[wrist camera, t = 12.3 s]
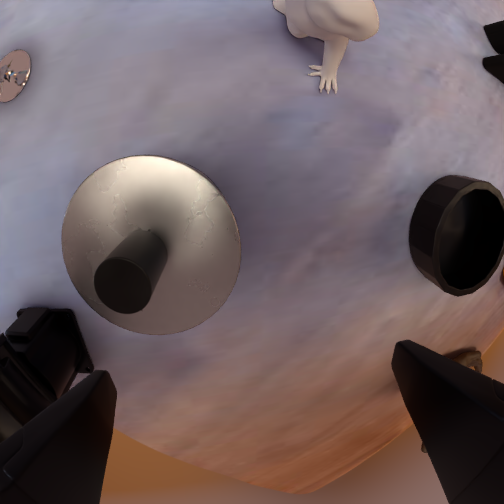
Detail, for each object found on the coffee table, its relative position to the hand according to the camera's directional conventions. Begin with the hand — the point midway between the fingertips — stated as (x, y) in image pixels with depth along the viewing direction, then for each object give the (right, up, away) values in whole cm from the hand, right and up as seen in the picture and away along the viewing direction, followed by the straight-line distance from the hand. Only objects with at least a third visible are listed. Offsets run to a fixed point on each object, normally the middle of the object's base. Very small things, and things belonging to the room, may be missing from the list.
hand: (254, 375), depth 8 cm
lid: (-6, +4, +8) cm, 10 cm away
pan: (+17, +6, +14) cm, 22 cm away
